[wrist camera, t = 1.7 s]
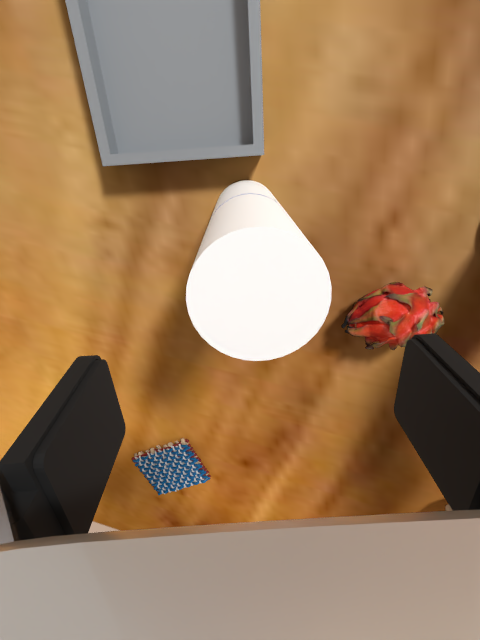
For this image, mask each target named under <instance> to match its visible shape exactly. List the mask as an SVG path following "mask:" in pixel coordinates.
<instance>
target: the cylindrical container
mask: <svg viewBox="0 0 480 640" xmlns="http://www.w3.org/2000/svg"><path fill="white" fill-rule="evenodd" d="M331 288H332V287H331V282H330V276H329V272H328V270H327V268H326V266H325V263H324V261H323V259H322V258H321V257H320V255H319V254H318V253H317V251H316V250H315V249H314V248H313V246H312V245H311V244H310V242H309V241H308V240H307V238H306V237H305V236H304V235H303V233H302V232H301V231H300V229H299V228H298V227H297V226H296V224H295V223H294V222H293V220H292V219H291V218H290V216H289V215H288V214H287V213H286V211H285V210H284V209H283V207H282V206H281V205H280V204H279V202H278V201H277V200H276V199H275V197H274V196H273V195H272V193H271V192H270V191H269V190H268V189H267V188H266V187H265V186H264V185H262V184H260V183H258V182H255V181H251V180H242V181H238V182H235V183H233V184H231V185H229V186H228V187H227V188H226V189H225V190H224V191H223V192H222V193H221V195H220V196H219V199H218V201H217V203H216V206H215V208H214V211H213V214H212V216H211V219H210V222H209V224H208V227H207V230H206V232H205V235H204V237H203V240H202V243H201V245H200V248H199V251H198V253H197V256H196V258H195V261H194V264H193V266H192V269H191V272H190V274H189V278H188V282H187V286H186V303H187V309H188V313H189V316H190V318H191V321H192V323H193V325H194V327H195V328H196V330H197V331H198V333H199V334H200V336H201V337H202V338H203V339H204V340H205V341H206V342H208V343H209V344H210V345H211V346H212V347H214V348H215V349H217V350H218V351H220V352H222V353H224V354H226V355H229V356H231V357H234V358H238V359H242V360H252V361H261V360H271V359H275V358H279V357H283V356H285V355H287V354H289V353H292V352H294V351H296V350H297V349H299V348H300V347H302V346H303V345H305V344H306V343H307V342H308V341H309V340H310V339H311V338H312V337H313V336H314V335H315V334H316V333H317V332H318V330H319V329H320V327H321V326H322V325H323V323H324V320H325V318H326V316H327V314H328V311H329V307H330V303H331Z"/></svg>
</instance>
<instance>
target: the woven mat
mask: <svg viewBox="0 0 480 640" xmlns="http://www.w3.org/2000/svg"><path fill="white" fill-rule="evenodd" d="M180 440H181V441H180V442H178V441H175V443H176V444H173V443H172V442H170V443H168V446H169V447H168V446H167V445H166V444H165V445H164V446H163V447H164V448H161V447H160V445H157V446H156V447H157V448H158V449H154V448H151V449H150V451H149V450H146V452H147V453H145V454H144V453H143V452H142V451H140V452H139V453H138V454H137V453H136V454H134V456H135V457H133V458H132V460H133V462H134V463H136V464H135V466H136V467H137V466H138V465H139V466H138V468H139V469H141V470H140V472H142V471H143V474H144V475H145V476H144V477H145V478H147V480H149V483H150V484H151V483H152V484H151V485H152V486H153V487H154V486H155V487H154V490H155V489H156V491H157V492H159V493H158V495H160V494H162V493H163V494H166V493H168V492H170V493H171V491H175V492H176V489H177V490H180V489H182V488H183V487H185V488H186V487H190V486H191V485H192V486H194V485H197V484H199V483H205V482H206V481H207V480H209V479H210V477H211V476H210V475H208V473H209V471H207V469H205V467H204V466H203V464H202V463H201V459H199V457H197V454H196V453H195V451H194V450H193V448H192V447H191V445H190V444H188V442H189V440H187V439H184V438H183V439H180ZM181 444H182V445H181ZM173 451H174V452H173ZM138 455H139V456H138ZM192 457H193V458H192ZM194 463H195V464H194ZM199 469H201V470H199ZM203 475H205V476H203ZM193 484H194V485H193ZM179 486H180V487H179ZM158 488H159V489H158Z"/></svg>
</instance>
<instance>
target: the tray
mask: <svg viewBox="0 0 480 640" xmlns="http://www.w3.org/2000/svg"><path fill="white" fill-rule="evenodd" d="M65 2H66V6H67V11H68V15H69V19H70V24H71V28H72V33H73V37H74V41H75V46H76V50H77V55H78V59H79V63H80V68H81V72H82V77H83V81H84V86H85V90H86V94H87V99H88V103H89V108H90V112H91V116H92V121H93V125H94V130H95V134H96V138H97V143H98V147H99V152H100V156H101V160H102V165H103V166H114V165H128V164H142V163H156V162H171V161H185V160H199V159H213V158H228V157H242V156H256V155H264V131H263V94H262V57H261V20H260V0H65Z"/></svg>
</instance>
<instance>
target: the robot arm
mask: <svg viewBox="0 0 480 640" xmlns="http://www.w3.org/2000/svg"><path fill="white" fill-rule="evenodd" d="M394 413H395V416H396V418H397V420H398V422H399V423H400V425H401V427H402V428H403V430H404V432H405V433H406V435H407V437H408V438H409V440H410V441H411V443H412V445H413V446H414V448H415V450H416V451H417V453H418V455H419V456H420V458H421V459H422V461H423V463H424V464H425V466H426V468H427V469H428V471H429V473H430V474H431V476H432V477H433V479H434V481H435V482H436V484H437V486H438V487H439V489H440V491H441V492H442V494H443V495H444V497H445V499H446V500H447V502H448V504H449V505H450V507H451V509H452V510H453V511H436V512H418V513H400V514H382V515H363V516H345V517H328V518H312V519H295V520H278V521H262V522H246V523H230V524H214V525H199V526H184V527H169V528H153V529H138V530H123V531H111V532H98V533H88V531H89V529H90V526H91V523H92V521H93V518H94V515H95V513H96V510H97V507H98V505H99V502H100V499H101V497H102V494H103V491H104V489H105V486H106V483H107V481H108V478H109V475H110V473H111V470H112V467H113V465H114V462H115V459H116V457H117V454H118V451H119V449H120V446H121V443H122V441H123V438H124V435H125V422H124V419H123V415H122V412H121V409H120V405H119V402H118V398H117V395H116V392H115V388H114V385H113V381H112V378H111V375H110V371H109V368H108V364H107V362H106V360H104V359H103V360H101V358H100V357H99V356H98V355H94V356H80V357H78V358H76V360H75V361H74V362H73V364H72V365H71V366H70V368H69V369H68V370H67V372H66V373H65V374H64V376H63V377H62V379H61V380H60V381H59V383H58V384H57V385H56V387H55V388H54V389H53V391H52V392H51V393H50V395H49V396H48V397H47V399H46V400H45V401H44V403H43V404H42V405H41V407H40V408H39V410H38V411H37V412H36V414H35V415H34V416H33V418H32V419H31V420H30V422H29V423H28V424H27V426H26V427H25V428H24V430H23V431H22V432H21V434H20V435H19V437H18V438H17V439H16V441H15V442H14V443H13V445H12V446H11V447H10V449H9V450H8V451H7V453H6V454H5V455H4V457H3V458H2V459H1V461H0V640H480V373H479V372H478V371H477V370H476V369H475V368H474V367H472V366H471V365H470V364H469V363H468V362H467V361H466V360H465V359H464V358H462V357H461V356H460V355H459V354H458V353H457V352H456V351H455V350H454V349H452V348H451V347H450V346H449V345H448V344H447V343H446V342H445V341H444V340H443V339H441V338H440V337H439V336H438V335H437V334H434V333H431V334H415V335H414V336H413V337H412V339H410V340H408V341H407V342H406V347H405V352H404V357H403V362H402V368H401V373H400V378H399V383H398V389H397V394H396V399H395V404H394Z"/></svg>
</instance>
